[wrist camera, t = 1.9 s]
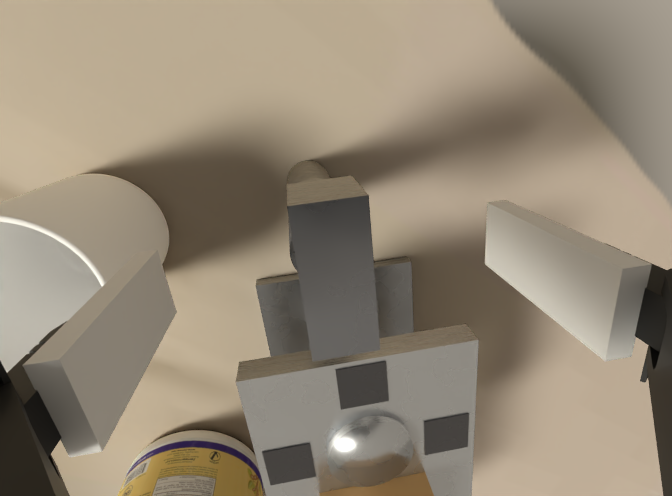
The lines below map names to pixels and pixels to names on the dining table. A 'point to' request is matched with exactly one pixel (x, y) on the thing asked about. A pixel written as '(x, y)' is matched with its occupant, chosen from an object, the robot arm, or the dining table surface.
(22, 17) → the dining table surface
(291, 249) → the wedge pin
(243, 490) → the supplement tub
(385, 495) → the wooden handled frame
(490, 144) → the dining table surface
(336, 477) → the ball joint plate
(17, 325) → the cup
